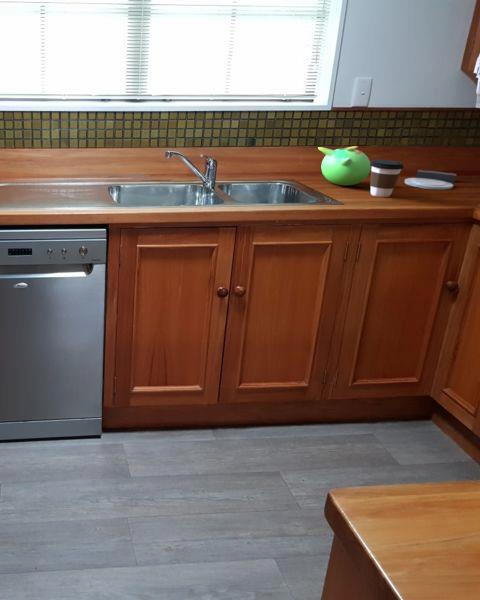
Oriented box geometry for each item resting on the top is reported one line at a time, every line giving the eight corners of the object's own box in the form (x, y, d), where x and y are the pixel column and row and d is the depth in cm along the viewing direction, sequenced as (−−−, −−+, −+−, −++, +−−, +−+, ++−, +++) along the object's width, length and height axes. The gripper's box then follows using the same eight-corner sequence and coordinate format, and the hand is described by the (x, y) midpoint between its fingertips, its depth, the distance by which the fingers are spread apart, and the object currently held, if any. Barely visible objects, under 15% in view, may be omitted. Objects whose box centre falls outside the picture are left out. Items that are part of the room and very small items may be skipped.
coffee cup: (397, 194, 222) (405, 161, 218) (395, 200, 213) (403, 166, 209) (365, 190, 227) (372, 158, 222) (362, 196, 218) (369, 162, 213)
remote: (415, 178, 251) (417, 170, 250) (416, 176, 254) (418, 169, 253) (454, 182, 245) (456, 174, 244) (454, 180, 248) (456, 173, 247)
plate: (453, 183, 242) (454, 180, 242) (452, 191, 229) (453, 188, 228) (406, 178, 250) (406, 175, 249) (402, 185, 236) (403, 182, 236)
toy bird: (375, 188, 231) (384, 148, 225) (343, 191, 224) (351, 151, 218) (338, 178, 246) (345, 141, 240) (307, 181, 239) (314, 143, 233)
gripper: (478, 67, 240) (468, 104, 246) (478, 69, 224) (468, 108, 229) (497, 68, 237) (486, 105, 243) (499, 69, 221) (487, 109, 226)
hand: (477, 106), depth 236 cm, fingers open, 8 cm apart
